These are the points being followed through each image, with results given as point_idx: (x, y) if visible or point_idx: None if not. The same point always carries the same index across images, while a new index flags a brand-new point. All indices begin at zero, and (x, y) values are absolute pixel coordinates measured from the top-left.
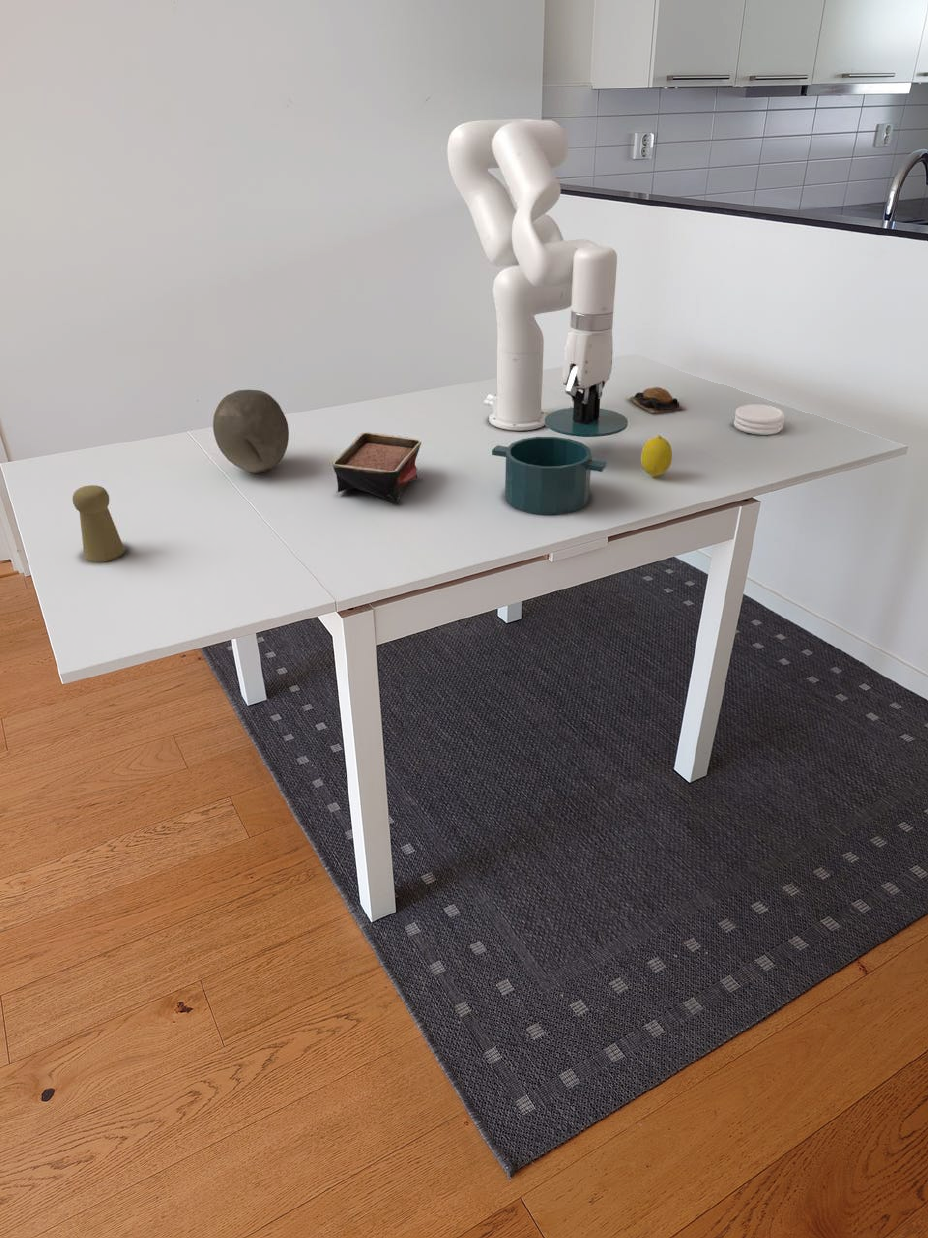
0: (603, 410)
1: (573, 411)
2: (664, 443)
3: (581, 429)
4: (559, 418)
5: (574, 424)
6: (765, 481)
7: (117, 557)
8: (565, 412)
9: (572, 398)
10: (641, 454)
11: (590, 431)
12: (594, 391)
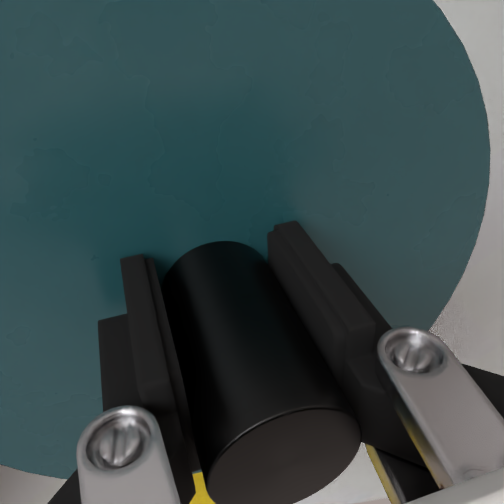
0: (457, 211)
1: (128, 306)
2: None
3: (42, 399)
4: (71, 126)
5: (73, 310)
6: (367, 498)
7: None
8: (254, 34)
9: (78, 463)
10: (199, 474)
11: (68, 441)
12: (398, 436)
